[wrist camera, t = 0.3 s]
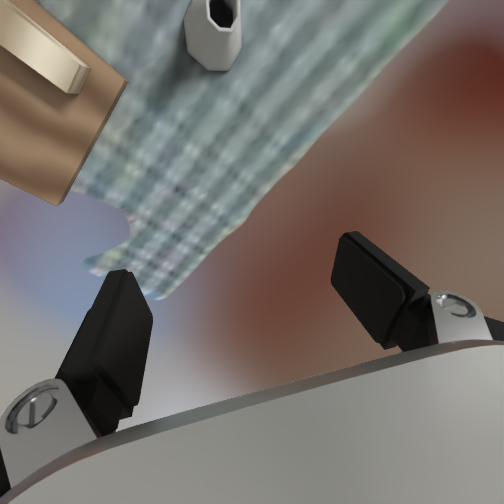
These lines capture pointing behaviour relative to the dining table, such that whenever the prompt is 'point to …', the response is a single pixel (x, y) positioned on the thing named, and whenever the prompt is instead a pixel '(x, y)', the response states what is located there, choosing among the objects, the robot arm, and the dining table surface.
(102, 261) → the dining table surface
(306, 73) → the dining table surface
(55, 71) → the folding leg
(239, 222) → the dining table surface
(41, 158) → the stool seat board
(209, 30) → the flask
